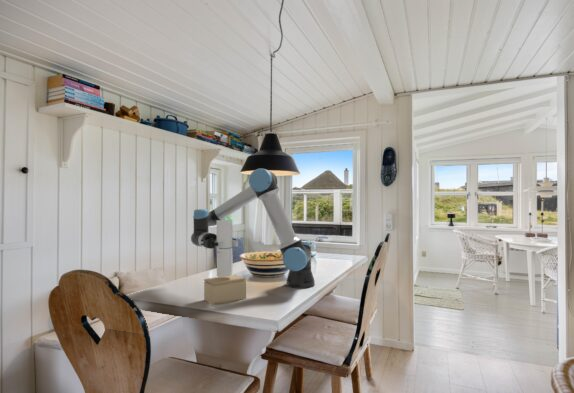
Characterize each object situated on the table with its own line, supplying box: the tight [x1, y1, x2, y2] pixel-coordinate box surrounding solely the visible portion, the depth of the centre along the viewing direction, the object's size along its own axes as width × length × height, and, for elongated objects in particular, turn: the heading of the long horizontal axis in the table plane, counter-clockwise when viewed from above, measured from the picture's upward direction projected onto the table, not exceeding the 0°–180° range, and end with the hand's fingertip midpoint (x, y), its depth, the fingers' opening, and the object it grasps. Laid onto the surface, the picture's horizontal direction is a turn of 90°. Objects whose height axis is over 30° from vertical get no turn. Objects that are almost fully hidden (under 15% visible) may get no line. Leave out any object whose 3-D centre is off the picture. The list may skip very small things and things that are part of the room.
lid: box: [203, 274, 246, 285], centre depth 149 cm, size 10×16×1 cm, turn 127°
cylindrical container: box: [216, 219, 234, 277], centre depth 149 cm, size 7×7×25 cm
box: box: [203, 280, 247, 306], centre depth 149 cm, size 10×16×8 cm, turn 127°
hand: (229, 244), depth 146 cm, fingers closed on cylindrical container, 7 cm apart
